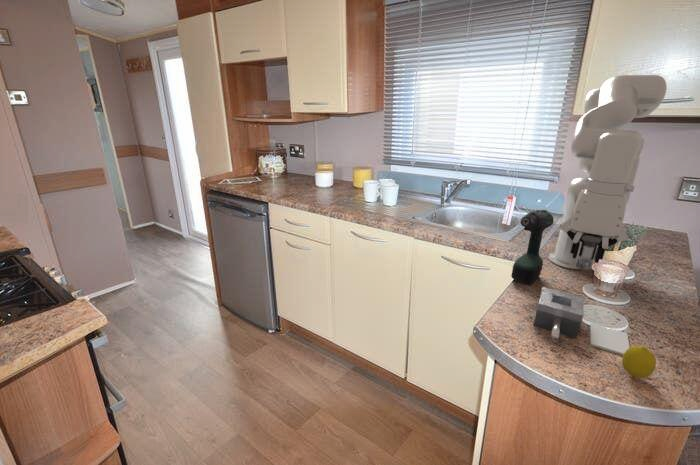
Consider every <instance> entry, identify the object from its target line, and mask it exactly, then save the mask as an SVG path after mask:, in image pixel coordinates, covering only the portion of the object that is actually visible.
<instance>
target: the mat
mask: <svg viewBox="0 0 700 465" xmlns="http://www.w3.org/2000/svg"><path fill="white" fill-rule="evenodd" d="M605 327H606V326H603V327H602V325H600V324H596V323H592V322H591V323H590V324H589V336H590V338H589V344H590V347H591V346H592V347H595V348H597V349H600V350H603V351H604V350H605V351H608V352H610V353H614V354H616V355H620V356H623V355H624V353H625V352H626V351H627V349H629V348H630V347H631V346H630V341H629V337H628V335H629V334H628V333H627V332H624V331H622V330H621V331H620V330H616V329H614V330H612V329H613V328H611V329H607V328H608V327H607V328H605Z"/></svg>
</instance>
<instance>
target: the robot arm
mask: <svg viewBox="0 0 700 465" xmlns="http://www.w3.org/2000/svg"><path fill="white" fill-rule="evenodd" d="M667 87H668V86H667V81H666V79H665V78H664V77H663V76H661V75H658V74H631V75H630V74H628V75H627V74H625V75H623V74H622V75H617V76H613V77H610V78H609V79H607V80H606V81H605V82H604V83H603V84H602V85H601V87H600V88H599V87H598V88H595V89H592V90H590V91H588V93H587V95H586V97H585V100H584V108H583V109H584V115H582V116H581V117H580V119H579V120H578V121H577V123H576V125H575V127H574V132H573V134H572V135H573V136H572V140H571V154H572V155H573V156H574V157H575V158H577V159H579V164H578V165H579V166H578V167H579V169H580V171H581V172H582V173H585V174H588V177H586V176H585V177H582V176H581V177H576V178H574V179H572V180H571V181H570V182H569V184H568V186H567V194H566V203H565V209H564V215H563V219H562V221H561V224H560V225H559V227H560V228H559V229H560V231H559V234H558V238H557V243H556V247H555V250H554V252H550V253H549V255H548V259H549V260H550V262H552V263H553V264H555V265H557V266H560V267H562V268H565V269H566V268H567V269H571V270H581V269H580V268H578V267H576V263H577V259H578V256H579V252H580V248H581V244H582V242H580V241H579V239H580V238H581V236H582V234H583V233H587V234H593V235H599V236H602V245H597V248H596V252H595V255H594V259H593V262H594V263H596V264H599V262H600V260H603V258H604V256H605V253H606V250H607V249H609V247H611V246H613V245H615V244H617V243H621V242H624V241H628V239H629V236H628V234H627V232H626V230H625V228H624V226H623V223H624V219H625V214H626V208H627V207H626V206H627V204H628V202H629V200H630V197H631V194H632V192H634V190H635V185H634V182H635V179H636V176H637V172H638V168H639V164H640V159H641V157H640V155H641V153H642V151H643V148H644V145H645V138H643V135H642V134H641V132H639V131H636V130H629V129H619V128H623V127H625V126H627V125H628V124H630V123H631V122H632V121H633V120H634V119H638V118H639V119H641V118H646V117H648V116H650V114H652V113H653V112H654V111H655V110H657V108H658V107H659V106H660V105H661V104H662V103H663V101H664V99H665V96H666V93H667Z"/></svg>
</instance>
